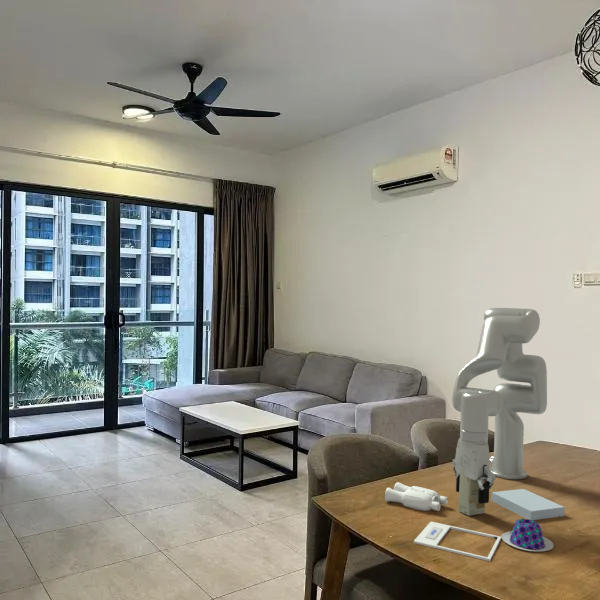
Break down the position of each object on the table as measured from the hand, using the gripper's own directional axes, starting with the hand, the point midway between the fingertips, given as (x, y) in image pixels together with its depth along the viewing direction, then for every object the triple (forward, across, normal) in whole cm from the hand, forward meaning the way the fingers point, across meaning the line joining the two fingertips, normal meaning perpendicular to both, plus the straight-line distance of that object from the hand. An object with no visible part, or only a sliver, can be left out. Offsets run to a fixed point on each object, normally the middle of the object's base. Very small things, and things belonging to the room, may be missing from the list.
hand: (471, 497), depth 160 cm
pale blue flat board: (+5, +2, +18) cm, 19 cm away
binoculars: (+5, -10, -11) cm, 16 cm away
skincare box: (+4, 0, 0) cm, 5 cm away
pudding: (+5, +21, 0) cm, 21 cm away
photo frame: (+5, +15, -16) cm, 22 cm away
